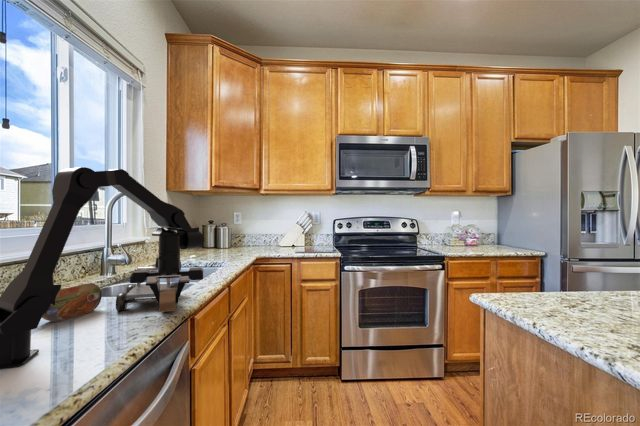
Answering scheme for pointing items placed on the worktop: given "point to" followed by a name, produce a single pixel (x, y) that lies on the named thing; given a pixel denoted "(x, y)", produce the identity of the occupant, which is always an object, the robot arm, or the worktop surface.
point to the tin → (74, 302)
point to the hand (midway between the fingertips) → (168, 304)
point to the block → (167, 299)
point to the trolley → (140, 292)
